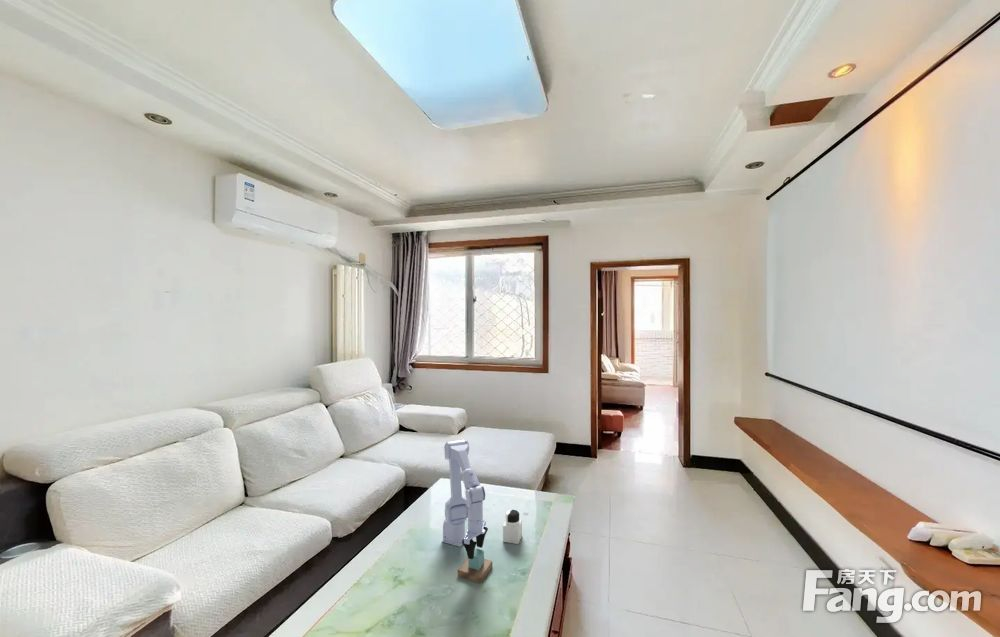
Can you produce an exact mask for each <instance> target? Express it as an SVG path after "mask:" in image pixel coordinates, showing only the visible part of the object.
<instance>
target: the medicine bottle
mask: <svg viewBox="0 0 1000 637" xmlns="http://www.w3.org/2000/svg"><path fill="white" fill-rule="evenodd" d="M522 536H523V520H522V519H520V512H519V511H518V510H516V509H509V510H506V512H505V521H504V522H503V525H502V542H503V543H509V544H516V545H519V544H520V542H521V538H522Z"/></svg>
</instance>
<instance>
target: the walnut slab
mask: <svg viewBox="0 0 1000 637" xmlns="http://www.w3.org/2000/svg"><path fill="white" fill-rule="evenodd" d="M492 569H493V560H489V559H487V558H484V564H483V565H482V567H481V568H480V570H476V569H473V568H469V567H468V557H467V558H466V559H465V560H464V561H463V562H462V564H460V566H459V568H457V577H459V578H463V579H465V580H469V581H473V582H476V583H479V584H482V583H483V582H484V580H485V579H486V577H487V576H488V574H489V573H490V571H491V570H492Z"/></svg>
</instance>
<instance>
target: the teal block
mask: <svg viewBox="0 0 1000 637" xmlns="http://www.w3.org/2000/svg"><path fill="white" fill-rule="evenodd" d="M467 558H468V557H467ZM484 559H485V550H483V549H481V548H476V547H475V551H474V558H473V559H469V558H468V567H469V568H473V569H476V570H480V568H481V567H482V565H483V564H484Z"/></svg>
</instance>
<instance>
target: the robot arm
mask: <svg viewBox="0 0 1000 637" xmlns="http://www.w3.org/2000/svg"><path fill="white" fill-rule="evenodd" d="M443 446H444V447H443V448H444V458H445V459H444V460H447V461H448V464H449V465H448V466H449V482H450V483H449V484H450V498H449V499H448V500H446V502H445V504H444V518H445V519H444V520H443V524H442V540H441V542H442V543H445V544H449V545H452V546H456V547H459V548H460V547H462V546H463V547H464V549H465V551H466V552H465V553H466V557H467V558H469V559H473V558H474V551H475V548H476V547H477V548H479V549H481V548H483V545H484V541H485V537H486V536H487V532H488V530H489V528H488V527H487V524H486V523H487V522H486V521H487V520H486V519H484V518H483V517H484V516H483V515H484V514H483V511H484V510H483V509H484V508H483V505H484V501H485V499H486V491H485V488H484V485H483V484H482V483H481V482H479V478H478V476H477V474H476V471H475V470H474V469H472V467H471V463H470V459H469V452H470V443H469V441H468V440H467V439H466V438H465V439H459V440H452V441H446V442H445V444H444V445H443ZM461 471H462V474H461ZM462 483H463V485H464V488H465V497H464V496H463V494H462V492H463V491H462V490H463V489H462ZM466 522H467V529H466ZM474 538H475V541H474V540H473V539H474Z"/></svg>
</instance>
